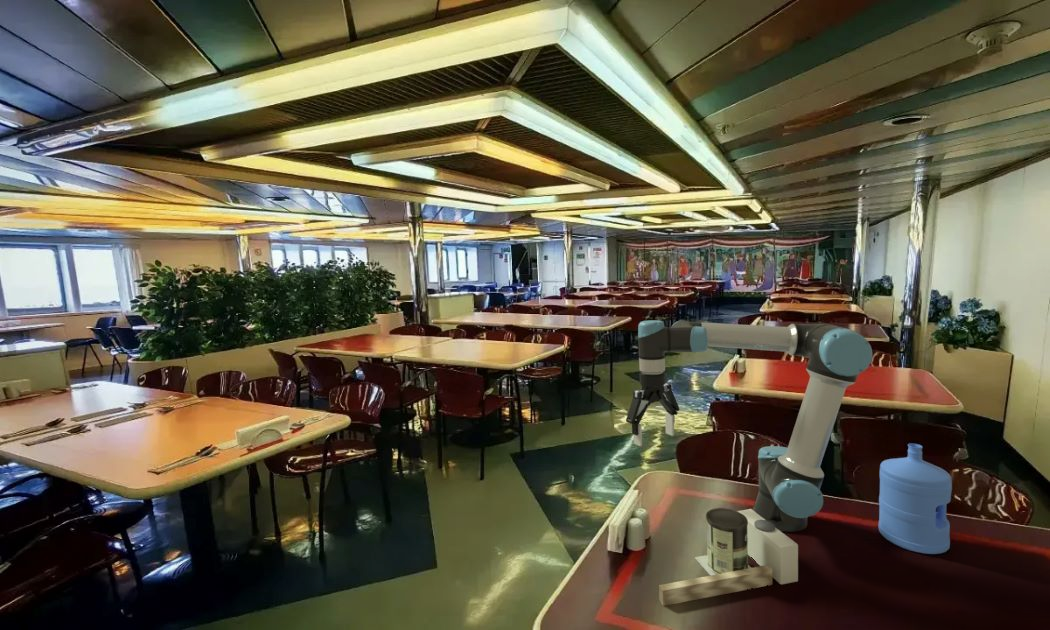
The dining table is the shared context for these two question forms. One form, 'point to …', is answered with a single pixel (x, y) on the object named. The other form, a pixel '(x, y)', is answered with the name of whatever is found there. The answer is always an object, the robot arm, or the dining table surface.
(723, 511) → the coffee can
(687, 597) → the guide rail
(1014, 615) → the dining table surface
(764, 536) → the end cabinet
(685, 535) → the dining table surface
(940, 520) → the water jug
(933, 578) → the dining table surface
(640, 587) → the dining table surface
